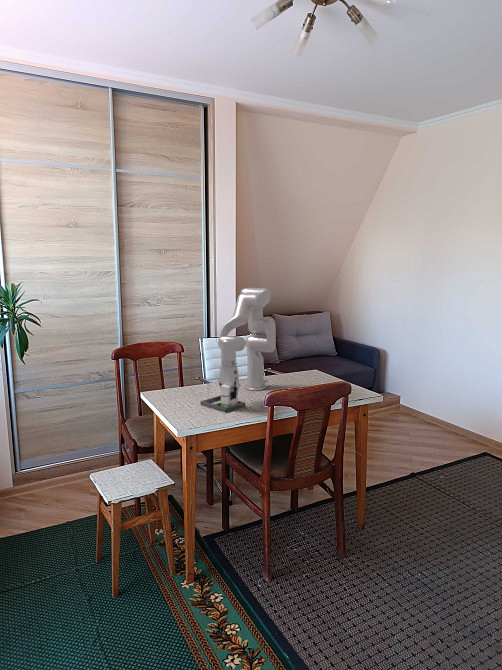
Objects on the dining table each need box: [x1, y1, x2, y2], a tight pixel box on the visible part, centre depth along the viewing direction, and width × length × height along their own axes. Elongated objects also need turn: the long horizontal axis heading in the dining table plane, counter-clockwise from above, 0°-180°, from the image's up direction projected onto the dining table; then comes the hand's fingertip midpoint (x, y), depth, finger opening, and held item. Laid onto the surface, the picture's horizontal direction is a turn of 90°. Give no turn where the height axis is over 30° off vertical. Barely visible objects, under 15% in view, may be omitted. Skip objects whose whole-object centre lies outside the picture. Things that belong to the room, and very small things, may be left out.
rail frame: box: [200, 395, 246, 414], centre depth 243 cm, size 14×19×2 cm
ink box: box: [220, 385, 239, 408], centre depth 240 cm, size 9×5×12 cm, turn 146°
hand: (228, 397), depth 240 cm, fingers open, 6 cm apart
